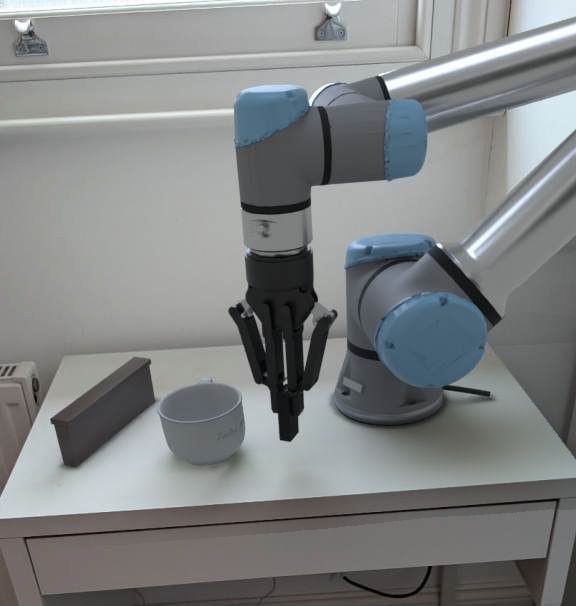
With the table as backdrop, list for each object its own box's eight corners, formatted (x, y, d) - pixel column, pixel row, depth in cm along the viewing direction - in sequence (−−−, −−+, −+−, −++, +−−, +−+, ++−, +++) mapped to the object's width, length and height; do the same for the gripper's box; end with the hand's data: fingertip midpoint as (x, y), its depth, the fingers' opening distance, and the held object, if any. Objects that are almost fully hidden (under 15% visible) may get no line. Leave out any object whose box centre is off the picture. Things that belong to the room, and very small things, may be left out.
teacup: (236, 477, 101) (229, 421, 97) (154, 472, 103) (144, 417, 99) (261, 424, 112) (256, 371, 108) (186, 421, 114) (179, 369, 110)
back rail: (157, 401, 120) (150, 358, 116) (78, 468, 105) (67, 421, 101) (141, 398, 121) (134, 356, 117) (61, 464, 106) (49, 418, 102)
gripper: (209, 252, 87) (229, 442, 101) (321, 261, 83) (327, 459, 96) (239, 233, 93) (255, 415, 106) (346, 240, 88) (348, 430, 102)
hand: (289, 435), depth 101 cm, fingers closed
